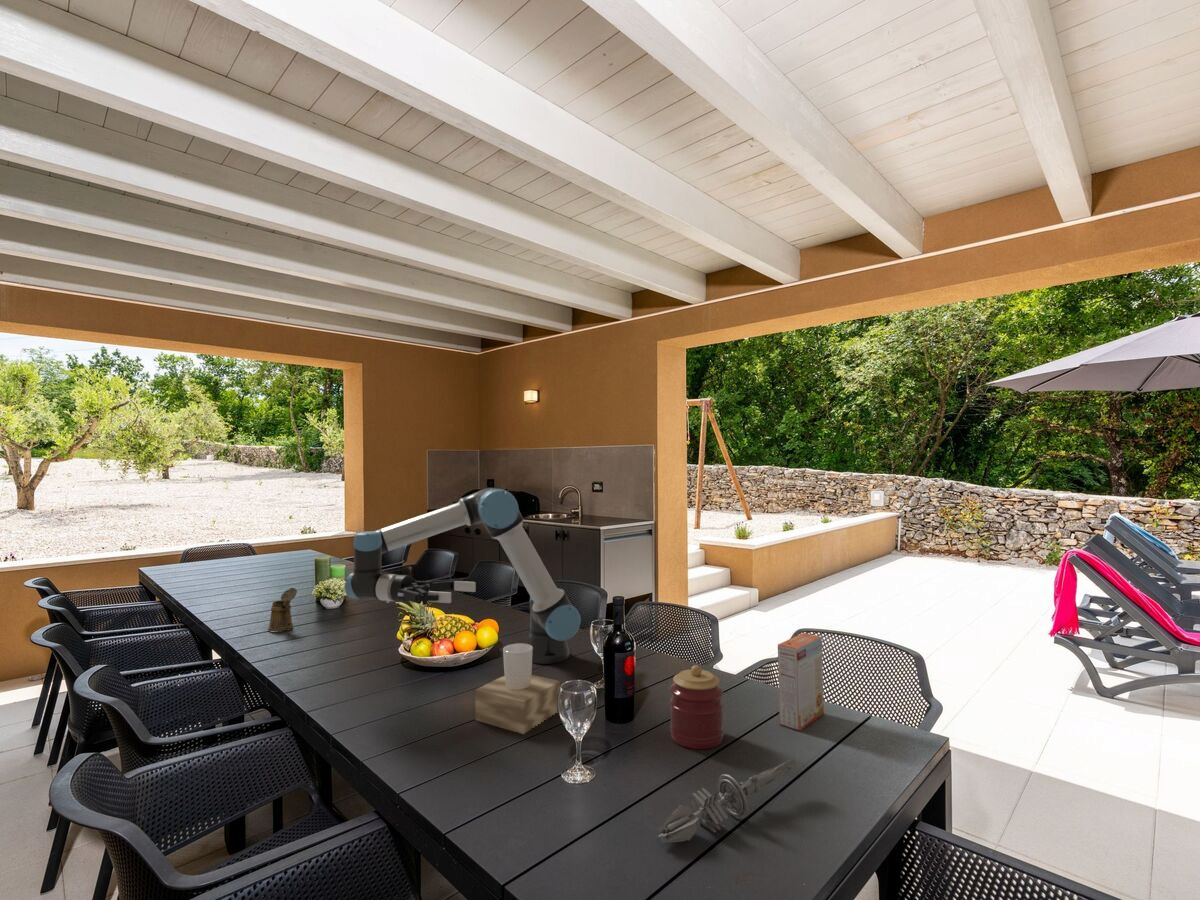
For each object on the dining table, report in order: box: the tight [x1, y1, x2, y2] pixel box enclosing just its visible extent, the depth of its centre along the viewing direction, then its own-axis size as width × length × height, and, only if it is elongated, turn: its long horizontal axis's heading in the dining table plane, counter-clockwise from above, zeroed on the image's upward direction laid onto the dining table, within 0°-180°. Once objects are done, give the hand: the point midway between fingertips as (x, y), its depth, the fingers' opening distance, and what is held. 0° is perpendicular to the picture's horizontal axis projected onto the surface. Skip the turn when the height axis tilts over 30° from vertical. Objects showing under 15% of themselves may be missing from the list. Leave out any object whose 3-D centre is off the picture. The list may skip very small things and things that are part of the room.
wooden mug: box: [267, 587, 298, 632], centre depth 240 cm, size 9×14×18 cm, turn 55°
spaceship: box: [657, 759, 797, 844], centre depth 114 cm, size 8×35×8 cm
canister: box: [669, 664, 725, 750], centre depth 146 cm, size 13×13×18 cm
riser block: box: [474, 674, 561, 735], centre depth 159 cm, size 16×16×8 cm
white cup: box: [502, 642, 533, 690], centre depth 159 cm, size 8×8×10 cm
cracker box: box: [777, 632, 825, 732], centre depth 155 cm, size 14×6×21 cm, turn 134°
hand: (463, 592), depth 164 cm, fingers open, 13 cm apart
